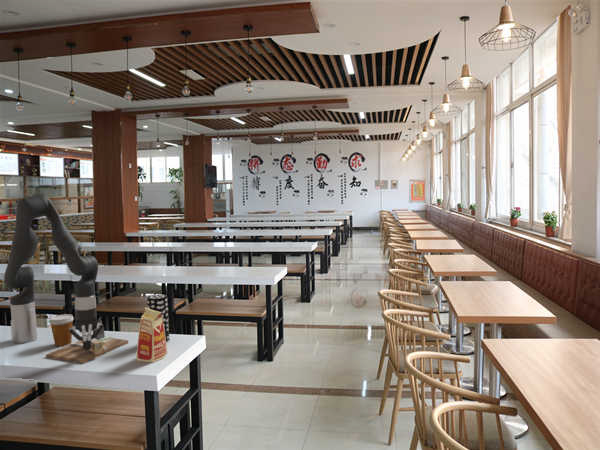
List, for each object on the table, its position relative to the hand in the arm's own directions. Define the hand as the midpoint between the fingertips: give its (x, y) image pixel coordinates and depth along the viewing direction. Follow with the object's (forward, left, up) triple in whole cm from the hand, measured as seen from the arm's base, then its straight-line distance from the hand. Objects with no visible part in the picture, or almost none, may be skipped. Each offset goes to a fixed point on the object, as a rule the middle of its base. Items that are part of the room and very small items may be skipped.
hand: (87, 349), depth 178 cm
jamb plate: (-7, +7, -4) cm, 11 cm away
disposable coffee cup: (-24, +9, -4) cm, 26 cm away
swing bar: (-2, +5, -1) cm, 6 cm away
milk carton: (+25, +9, -4) cm, 27 cm away
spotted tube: (+15, +25, -4) cm, 29 cm away
